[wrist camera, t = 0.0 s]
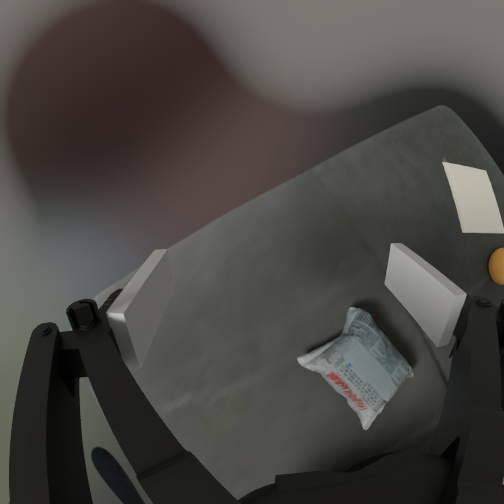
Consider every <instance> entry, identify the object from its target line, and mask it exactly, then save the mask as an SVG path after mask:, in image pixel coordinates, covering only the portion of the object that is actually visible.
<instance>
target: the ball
mask: <svg viewBox="0 0 504 504" xmlns="http://www.w3.org/2000/svg"><path fill="white" fill-rule="evenodd" d="M488 269H489V274H490V276H491V278H492V279H493V280H494V281H495V282H496V283H498V284H501V285H504V248H499V249H497V250H496V251H494V253H493V254H492V255H491V257H490V260H489V265H488Z"/></svg>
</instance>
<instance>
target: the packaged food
mask: <svg viewBox="0 0 504 504" xmlns="http://www.w3.org/2000/svg"><path fill="white" fill-rule="evenodd" d="M297 360H298V362H299V364H300V365H301V366H302V367H305V368H307V369H309V370H311V371H316V372H318V373H320V374H321V376H322V377H323V378H324V379H325V380H326V381H327V382H328V383H329V384H330V385H331V386H332V387H333V388H334V389H335V390H336V391H337V392H338V393H340V394H341V395H343V396H344V397H345V398H347V402H348V404H349V406H350V407H351V408H352V409H353V410H354V411H355V412H356V413H357V414H358V417H359V418H360V420H361V424H362V427H363V429H364V430H367V429H368V428H369V427H370V425H371V423H372V422H373V421H374V419H375V418H376V416H377V414H379V413H381V412H382V410H383V408H384V406H385V404H386V402H388V401H389V400H390V399H391V398H392V396H393V395H394V394H395V393H396V392H397V391H398V389H399V388H400V386H401V385H402V383H403V382H404V381H405V379H406V378H407V377H413V376H414V372H413V370H412V368H411V366H410V365H409V363H408V362H407V361H406V360H405V358H404V357H403V356H402V355H401V354H400V353H399V351H398V350H397V349H396V348H395V347H394V346H393V345H392V344H391V343H390V341H389V339H388V338H387V337H386V336H385V334H384V333H383V332H382V331H381V330H380V329H379V328H378V327H377V325H376V323H375V321H374V319H373V318H372V316H371V314H370V313H368V312H367V311H365V310H363V309H361V308H355V307H350V309H349V310H348V311H347V319H346V323H345V326H344V329H343V331H342V333H341V335H340V336H339V337H337V338H336V339H334V340H333V341H331V342H329V343H327V344H325V345H323V346H321V347H319V348H317V349H315V350H313V351H312V352H310V353H307V354H304V355H303V356H299V357H297Z"/></svg>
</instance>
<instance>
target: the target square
mask: <svg viewBox="0 0 504 504" xmlns="http://www.w3.org/2000/svg"><path fill="white" fill-rule="evenodd" d="M442 163H443V166H444V169H445V172H446V175H447V178H448V181H449V184H450V187H451V191H452V194H453V198H454V201H455V205H456V208H457V212H458V216H459V220H460V224H461V229H462V233H504V228H503V224H502V220H501V216H500V213H499V209H498V205H497V202H496V199H495V196H494V192H493V189H492V186H491V183H490V181H489V178H488V175H487V172H486V171H485V170H480V169H476V168H471V167H467V166H462V165H457V164H451V163H446V162H442Z"/></svg>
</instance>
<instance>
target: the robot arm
mask: <svg viewBox="0 0 504 504" xmlns="http://www.w3.org/2000/svg"><path fill="white" fill-rule="evenodd" d="M385 285H386V286H387V288H388V289H389V290H390V291H391V292H392V293H393V294H394V296H395V297H396V298H397V299H398V300H399V301H400V302H401V304H402V305H403V306H404V307H405V308H406V310H407V311H408V312H409V313H410V314H411V315H412V317H413V318H414V319H415V320H416V321H417V323H418V324H419V325H420V326H421V328H422V329H423V330H424V331H425V333H426V334H427V335H428V336H429V338H430V339H431V340H432V341H433V343H434V344H435V345H436V346H437V347H441V346H445V345H449V342H450V340H451V338H452V335H453V334H454V335H455V336H456V338H457V339H456V342H455V344H454V346H453V349H452V351H451V353H450V356H449V358H451V356H452V355H453V358H452V364H451V371H450V377H449V382H448V387H447V392H446V397H445V401H444V406H443V410H442V414H441V418H440V422H439V425H438V429H437V432H436V436H435V439H434V442H433V445H432V448H431V451H430V453H429V454H419V452H418V450H417V448H416V446H415V447H413V448H410V449H407V450H404V451H401V452H397V453H389V454H384V455H380V456H376V457H373V458H371V459H368V460H366V461H364V462H362V463H360V464H358V465H356V466H355V467H353V468H352V469H350V470H349V471H347V472H320V471H312V472H304V473H295V474H284V475H276V477H275V483H274V484H270V485H267V486H264V487H261V488H259V489H256V490H254V491H252V492H250V493H248V494H247V495H245V496H244V497H242V498H241V499H239V500H237V499H236V498H234V497H233V496H232V495H231V494H230V493H229V492H228V491H227V490H226V489H225V488H224V487H223V486H222V485H221V484H220V483H219V482H218V481H217V480H216V479H215V478H214V477H213V476H212V474H211V473H210V472H209V471H208V470H207V469H206V468H205V467H204V466H203V465H202V464H201V462H200V461H199V460H198V459H197V458H196V457H195V456H194V455H193V454H192V453H191V452H189V451H186V450H185V449H184V448H183V447H182V445H181V444H180V443H179V442H178V440H177V439H176V438H175V437H174V435H173V434H172V433H171V431H170V430H169V429H168V427H167V426H166V425H165V423H164V422H163V421H162V419H161V418H160V417H159V415H158V414H157V412H156V411H155V410H154V408H153V407H152V405H151V404H150V402H149V401H148V399H147V398H146V396H145V395H144V393H143V392H142V390H141V389H140V387H139V386H138V384H137V382H136V381H135V379H134V378H133V376H132V374H131V373H130V371H129V369H128V368H127V367H130V368H139V369H141V368H142V365H143V363H144V360H145V358H146V355H147V353H148V351H149V348H150V346H151V344H152V341H153V339H154V336H155V334H156V332H157V330H158V327H159V325H160V323H161V320H162V318H163V316H164V314H165V311H166V309H167V307H168V305H169V303H170V300H171V298H172V296H173V294H174V289H173V283H172V276H171V270H170V263H169V255H168V249H163V250H155V251H154V252H153V253H152V254H151V255H150V257H149V258H148V259H147V260H146V262H145V263H144V264H143V265H142V266H141V268H140V269H139V270H138V271H137V273H136V274H135V275H134V276H133V278H132V279H131V280H130V282H129V283H128V284H127V285H126V287H125V288H124V289H118V290H116V291H115V292H113V293H112V294H111V295H110V296H109V297H108V298H107V300H106V301H105V302H104V304H103V305H102V306H101V307H100V309H99V310H98V307H97V304H96V302H95V301H94V300H91V299H83V300H79V301H76V302H74V303H72V304H71V305H70V306H69V307H68V308H67V311H66V313H67V316H68V319H69V321H70V324H71V327H72V329H73V331H66V332H59V329H58V327H57V325H56V324H55V323H52V322H50V323H42V324H40V325H39V326H37V327H36V328H35V329H34V330H33V332H32V334H31V337H30V341H29V344H28V348H27V351H26V355H25V359H24V363H23V367H22V371H21V376H20V380H19V385H18V390H17V396H16V401H15V407H14V414H13V422H12V430H11V441H10V458H9V459H10V460H9V490H10V491H9V492H10V503H9V504H93V502H92V497H91V492H90V488H89V483H88V477H87V471H86V465H85V458H84V450H83V442H82V432H81V419H80V398H79V378H80V377H89V380H90V382H91V385H92V387H93V390H94V392H95V395H96V397H97V399H98V402H99V404H100V406H101V409H102V411H103V413H104V415H105V417H106V419H107V421H108V423H109V426H110V428H111V430H112V432H113V434H114V435H115V437H116V439H117V441H118V443H119V445H120V447H121V449H122V450H123V452H124V454H125V456H126V457H127V459H128V461H129V463H130V464H131V466H132V468H133V469H134V471H135V473H136V475H137V479H138V481H139V483H140V484H141V486H142V487H143V489H144V490H145V492H146V494H147V495H148V496H149V498H150V499H151V501H152V502H153V504H504V485H503V484H502V483H503V478H504V299H503V300H502V302H501V305H500V307H493V304H492V303H491V302H490V301H489V300H487V299H486V298H483V297H479V296H475V297H472V298H471V297H470V296H469V295H468V294H467V293H466V292H464V291H463V290H462V289H461V288H459V287H458V286H457V285H456V284H455V283H454V282H452V281H451V280H450V279H448V278H447V277H445V276H444V275H443V274H442V273H440V272H439V271H438V270H437V269H435V268H434V267H433V266H431V265H430V264H429V263H428V262H426V261H425V260H424V259H422V258H421V257H420V256H418V255H417V254H416V253H414V252H413V251H412V250H410V249H409V248H407V247H406V246H405V245H403V244H402V243H391V248H390V254H389V261H388V267H387V273H386V278H385Z"/></svg>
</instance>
